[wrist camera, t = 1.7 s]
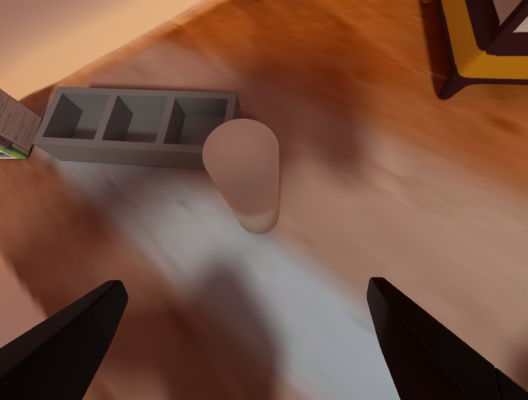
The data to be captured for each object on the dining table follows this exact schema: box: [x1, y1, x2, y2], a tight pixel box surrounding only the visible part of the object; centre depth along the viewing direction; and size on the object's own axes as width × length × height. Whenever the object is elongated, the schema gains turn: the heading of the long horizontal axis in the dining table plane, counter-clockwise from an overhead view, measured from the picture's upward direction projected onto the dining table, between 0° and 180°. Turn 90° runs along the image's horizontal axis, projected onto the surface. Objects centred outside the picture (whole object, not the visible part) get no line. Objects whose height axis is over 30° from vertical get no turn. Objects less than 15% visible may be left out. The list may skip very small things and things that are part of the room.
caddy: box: [32, 87, 242, 170], centre depth 26 cm, size 20×7×4 cm, turn 84°
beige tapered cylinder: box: [202, 119, 279, 234], centre depth 18 cm, size 4×4×12 cm
